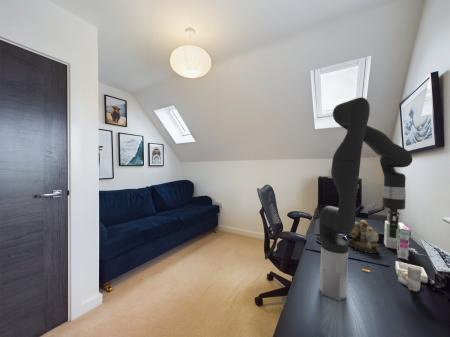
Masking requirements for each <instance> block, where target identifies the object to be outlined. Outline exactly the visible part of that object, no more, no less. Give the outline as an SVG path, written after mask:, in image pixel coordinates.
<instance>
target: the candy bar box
mask: <svg viewBox="0 0 450 337" xmlns="http://www.w3.org/2000/svg"><path fill="white" fill-rule="evenodd" d="M404 225H405V224H404ZM404 225H399V242H397V249H396V256H397V257H396V258H397V259H401V260H405V261H410V247H411V235H412V232H411V231H412V230H411V227H410V226H408V225H405V226H404Z"/></svg>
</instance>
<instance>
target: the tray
mask: <svg viewBox="0 0 450 337" xmlns="http://www.w3.org/2000/svg"><path fill="white" fill-rule="evenodd" d="M408 267H413V268H416V269H419V270H420V271H421V278H420V282H421V283H424V284H428V278H429V276H428V275H427V272H426V270H425V269H424V267H422V266H418V265H415V264H414V265H413V264H410V263H406V262H402V261H397V260H395V267H394V268H395V272H396V276H398V275H399V274H401V273H402V272H408Z"/></svg>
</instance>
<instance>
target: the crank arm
mask: <svg viewBox="0 0 450 337" xmlns="http://www.w3.org/2000/svg"><path fill="white" fill-rule="evenodd" d="M401 276H402V277H403V278H405V279H406V281H407V286H406V287H408V289H409V290H410V291H413V292H416V293H417V292H418V291H420V290H421V283H420V278H421V271H420V270H419V269H416V268H413V267H408V272H402V273H401Z"/></svg>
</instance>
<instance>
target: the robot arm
mask: <svg viewBox="0 0 450 337" xmlns="http://www.w3.org/2000/svg"><path fill="white" fill-rule="evenodd" d="M370 109H371V108H370V103H369V101H368V100H367V98H365V97H356V98H352V99H349V100H347V101H343V102H341V103H339V104H337V105H336V106H335V107H334V109H333V111H332V117H333V120H334V121H335V123H336V124H338V125H339V126H340V127H342V128H343V129H345V130H347V131H346V134H345V136H344V138H343V139H342V141H341V143H340V144H339V146H338V147H337V149H336V150H335V152H334V154H333V156H332V161H331V170H330V173H331V178H332V180H333V182H334V185H335V188H336V190H337V193H338V197H339V198H338V201H339V203H338V207H336V206H333V205H332V206H331V205H326V206H325V207H323V208H322V209H321V212H320V214H319V218H318V219H319V223H318V225H319V240H320V243H321V244H320V246H321V248H320V263H319V264H320V269H319V291H320V292H321V295H323V296H326V297H328V298H330V299H333V300H335V301H337V302H341V300H344V299H346V298H347V285H348V283H347V282H348V265H349V264H348V262H349V246H348V244H347V242H348V241H346V240H344V238H343V237H342V236H348V235H349V234H350V233H351V232H352V231H353V229H354V226H355V222H356V217H357V215H356V214H357V190H358V181H359V174H360V167H361V159H362V151H363V144H364V143H365V144H366V145H367V146H368V147H369V148H370V149H371V150H372V151H373V152H374V153H375V154H376V155H378V156H380V158H379V163H380V167H381V170H382V173H383V178H384V180H383V190H382V207H383V208H386V209H389V210H387V211H386V215H387V221H388V223H389V229H390V230H389V237H391V238H396V230H397V229H398V224H399V223H400V222H399V221H400V220H399V218H400V213H399V211H398V210H401V211H402V210H405V209H406V175H405V174H404V173H401V172H397V171H396V169H395V168H407V167H409V166H410V165H411V164H412V162H413V155H412V154H411V152H410V151H408V150H407V149H406V148H404V147H402V146H400V145H399V144H397V143H394V142H393V140H392V139H391V138H390V137H389V136H387V135H386V134H385V133H384V132H382V131H381V130H379V129H376V128H374V127H372V126H369V125H368V122H369V118H370V111H371V110H370ZM391 224H395V226H392V225H391ZM341 235H342V236H341Z"/></svg>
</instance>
